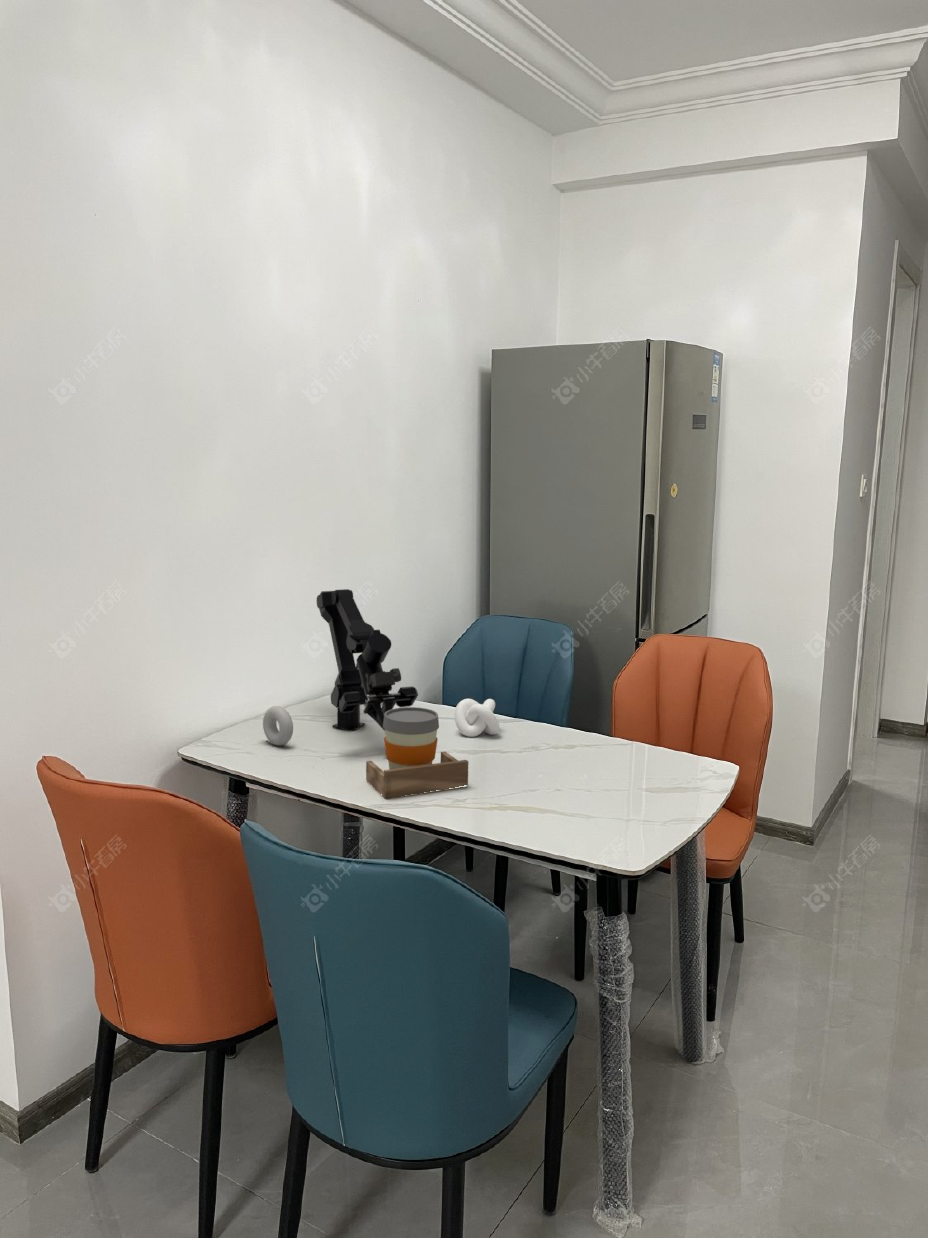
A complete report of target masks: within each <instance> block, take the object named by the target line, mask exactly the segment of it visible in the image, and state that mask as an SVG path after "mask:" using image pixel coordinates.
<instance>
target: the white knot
mask: <svg viewBox="0 0 928 1238" xmlns="http://www.w3.org/2000/svg"><path fill="white" fill-rule="evenodd" d="M495 707H496V702H495V700H494V699H492V698H488V699H486V700H484V701H483V703H479V702H478V701H476V700H474V699H472V698H464V699H462V700H461V701H459V702H458V703H457V705H456V707H455V710H454V722H455V726H456V728H457V729H458V731H459V733H460V734H462V735H463V736H465V737H468V738H473V737H477V736H479V735H481V733H483V732H484V733H486V734H488V735H491V736H495V735H497V734H498V733H499V730H500V723H499V720H498V718H497V716H496V715H495V713H494V710H495Z"/></svg>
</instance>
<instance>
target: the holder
mask: <svg viewBox="0 0 928 1238" xmlns="http://www.w3.org/2000/svg"><path fill="white" fill-rule="evenodd" d="M365 764H366V765H365V770H366V771H365V773H366V774H365V781H366V780H367V781H366V782H367V783H368V784H369V785H370V786H371V785H372V786H373V787H374V788H375V791H377V792H378V794H380V795H381V794H382V795H381V796H382V797H383V798H384V799H385V800H389V799H396V798H402V797H401V796H403V797H406V796H405V795H410V796H412V795H411V794H417V795H421V794H420V793H424V792H430V791H436V790H445V789H449V788H455V787H459V786H464V785H468V786H469V760H467V759H461V760H458V759H457V758H455V757H454V756H452V755H451V754H450V753H449V752H447V751H440V762H438V763H437V762H436V763H432V764H429V765H421V766H413V767H406V768H398V769H390V770H389V769H384V770H383V769H382V768H380V767H379V766H378V765H377V764H376V763H375V762H373V760H367V761H365ZM372 786H371V787H372ZM373 787H372V788H373ZM374 788H373V789H374ZM445 791H446V790H445ZM424 794H425V793H424Z"/></svg>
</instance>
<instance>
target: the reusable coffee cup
mask: <svg viewBox="0 0 928 1238" xmlns="http://www.w3.org/2000/svg"><path fill="white" fill-rule="evenodd" d="M438 713H439V712H436V711H435V710H433V709H430V708H424V707H416V706H415V707H413V706H409V707H397V708H393V709H391V710H388V711H387V712H385V714H384V721H383V728H384V729H385V731H384V735H385V736H384V737H383V742H384V751H385V759H386V760H387V762H388V768H389V769H388V770H390V769H398V768H406V767H413V766H421V765H429V764H433V761H434V760H435V758H436V751H437V747H438V740H439V739H438V737H437V733H438V729H439V728H440V722H439V714H438Z"/></svg>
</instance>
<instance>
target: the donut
mask: <svg viewBox="0 0 928 1238" xmlns="http://www.w3.org/2000/svg"><path fill="white" fill-rule="evenodd" d="M277 724H278V725H277ZM278 727H279V729H278ZM262 730H263V732H264V733H263V734H264V735H265V737H266V739H267V740H268V742H269V743H271V744H273V745H274V746H276V747H277V746H278V747H280V746H281V747H282V746H284V745H287V744H288V743H289V742H290V741H291V739H292V736H293V734H294V723H293V719H292V716H291V715H290V713H289V712H288V711H287V709H286V708H284V707H282V706H281V705H280V706H279V705H273V706H271V707H269V708H268V709H266V711H265V713H264V715H263V718H262Z"/></svg>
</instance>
